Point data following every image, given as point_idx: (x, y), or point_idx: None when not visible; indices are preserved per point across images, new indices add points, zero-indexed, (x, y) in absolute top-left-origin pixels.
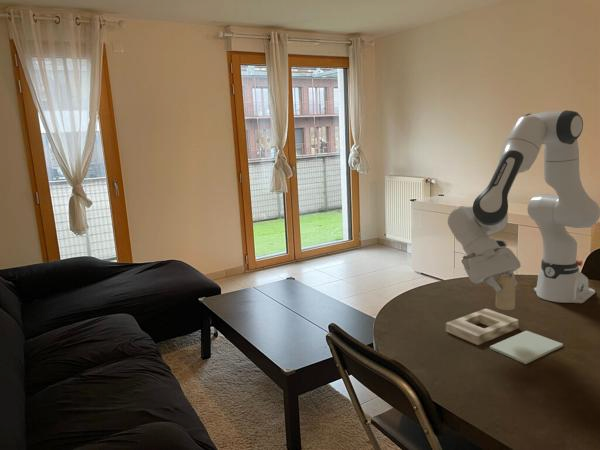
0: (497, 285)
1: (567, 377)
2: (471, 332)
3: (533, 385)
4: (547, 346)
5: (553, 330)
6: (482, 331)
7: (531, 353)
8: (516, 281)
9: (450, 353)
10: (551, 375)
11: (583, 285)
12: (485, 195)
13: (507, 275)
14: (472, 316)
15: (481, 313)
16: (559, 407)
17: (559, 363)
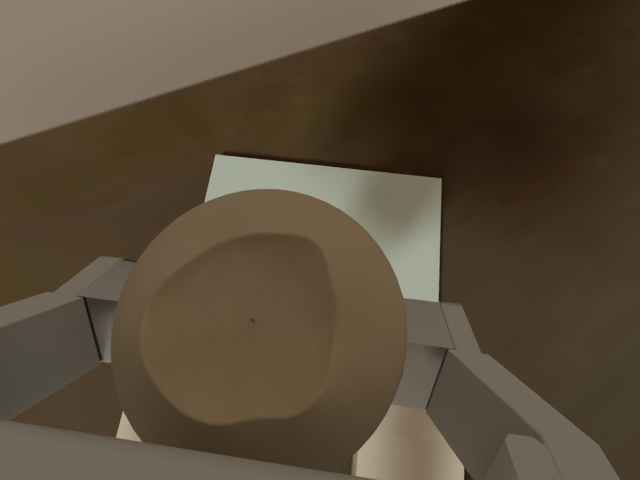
0: (474, 342)
1: (415, 73)
2: (453, 453)
3: (536, 112)
4: (275, 180)
5: (94, 239)
6: (398, 415)
7: (369, 193)
8: (88, 266)
9: (609, 437)
10: (441, 104)
11: None
12: None
13: (144, 337)
14: None
15: None
16: (574, 32)
17: (350, 119)
